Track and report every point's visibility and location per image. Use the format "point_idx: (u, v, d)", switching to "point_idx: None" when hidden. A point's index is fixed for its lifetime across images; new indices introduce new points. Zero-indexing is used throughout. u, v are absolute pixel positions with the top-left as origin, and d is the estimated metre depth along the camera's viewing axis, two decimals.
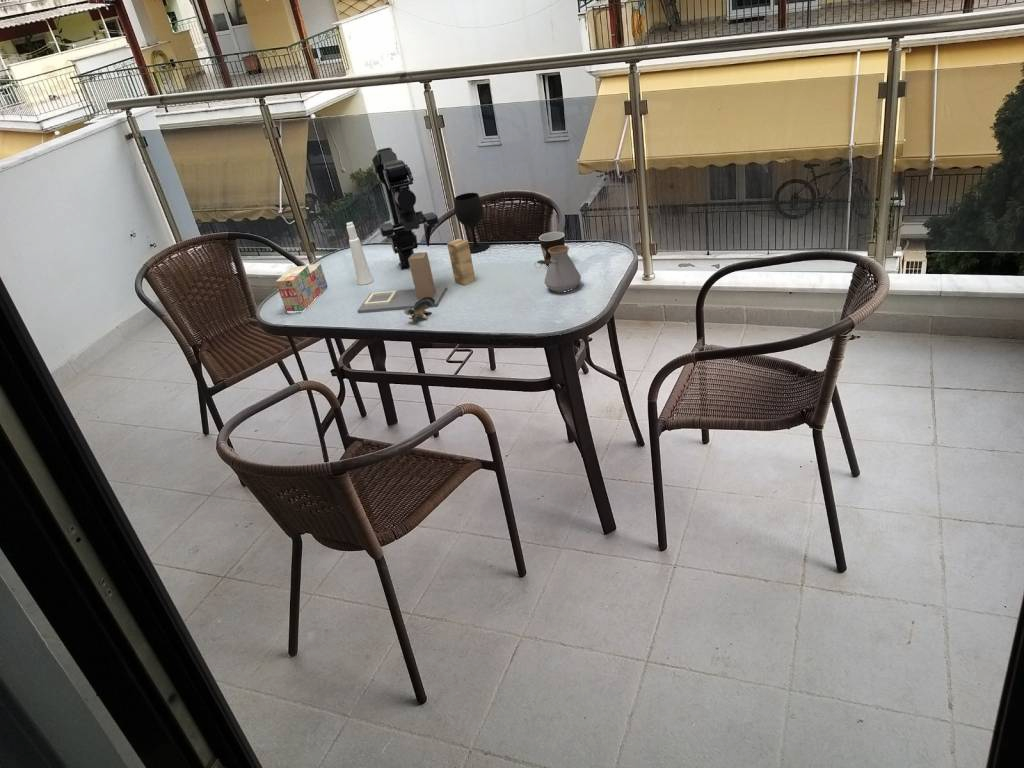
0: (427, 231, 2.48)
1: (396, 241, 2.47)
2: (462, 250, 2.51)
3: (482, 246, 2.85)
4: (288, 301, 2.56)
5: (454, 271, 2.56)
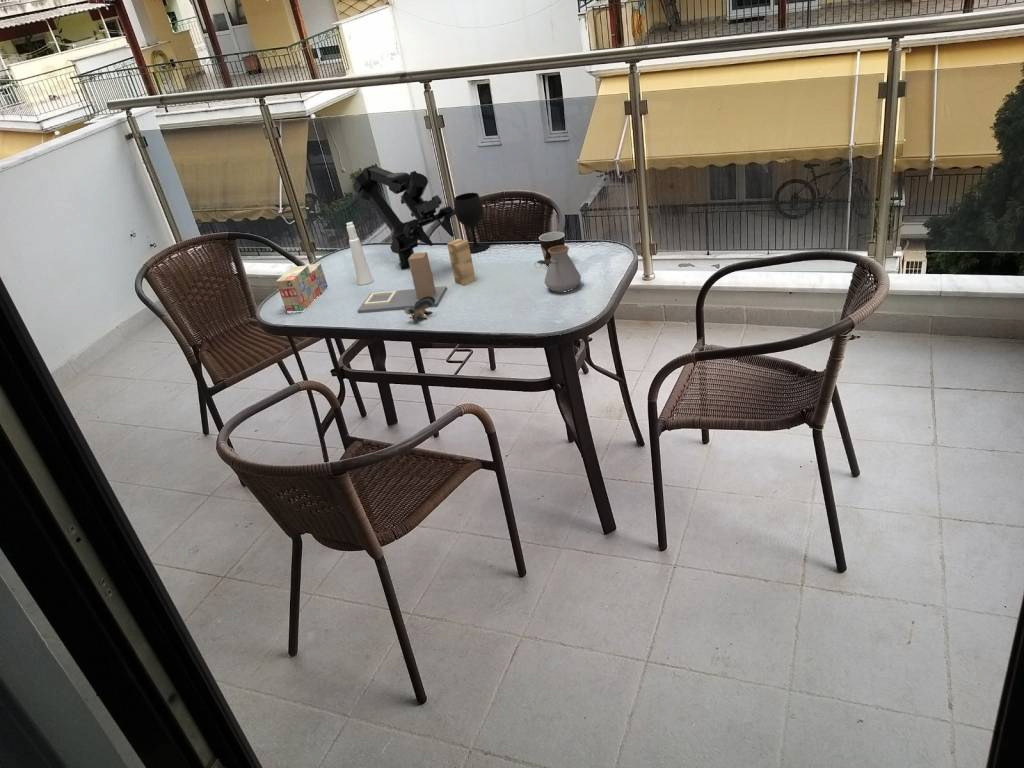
0: (447, 221, 2.60)
1: (424, 233, 2.54)
2: (462, 250, 2.51)
3: (482, 246, 2.85)
4: (288, 300, 2.56)
5: (454, 271, 2.56)
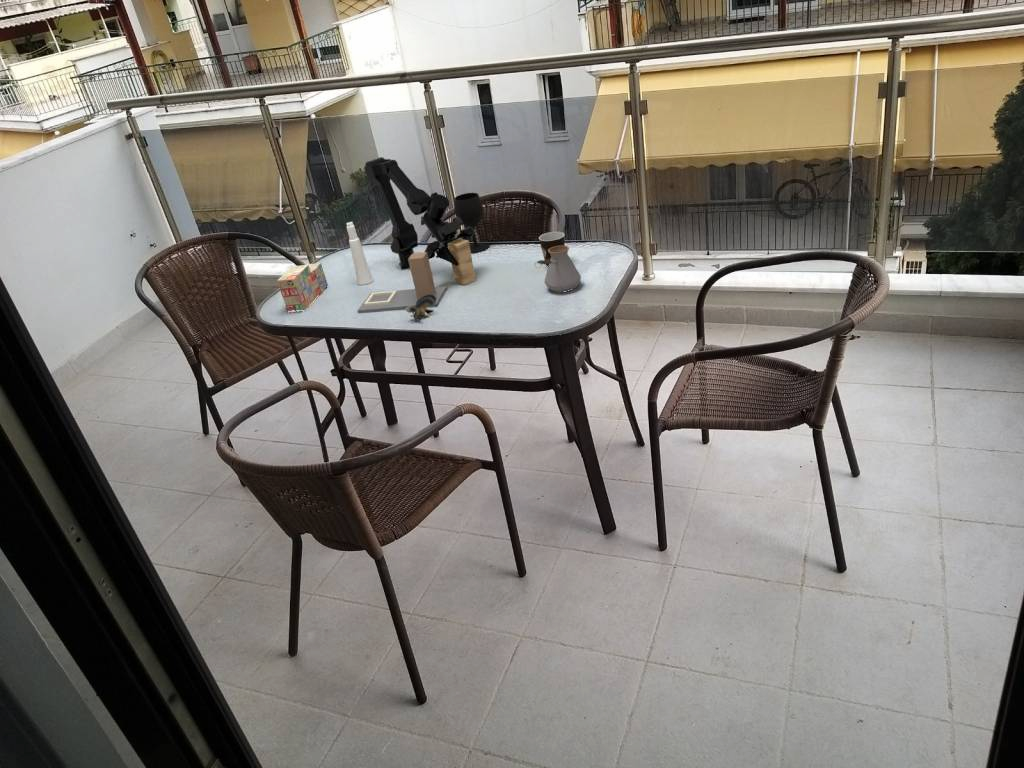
0: None
1: (449, 253, 2.52)
2: (463, 250, 2.51)
3: (482, 246, 2.85)
4: (289, 300, 2.57)
5: (454, 271, 2.56)
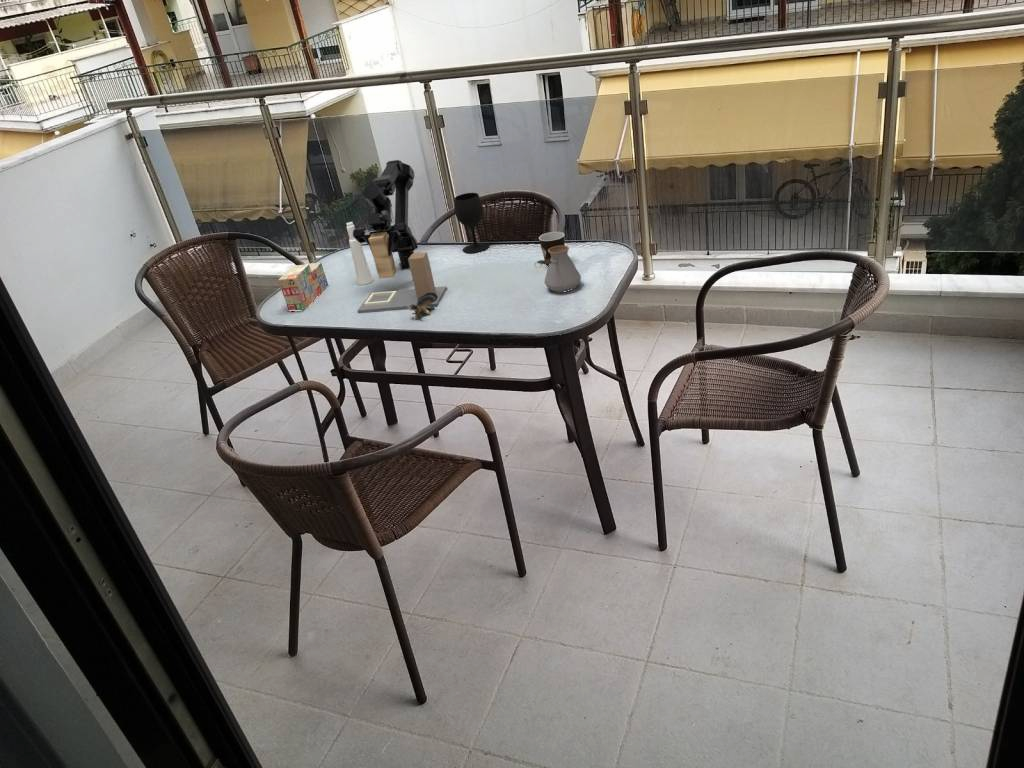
0: (389, 239, 2.53)
1: None
2: (376, 245, 2.50)
3: (482, 246, 2.85)
4: (290, 299, 2.57)
5: None
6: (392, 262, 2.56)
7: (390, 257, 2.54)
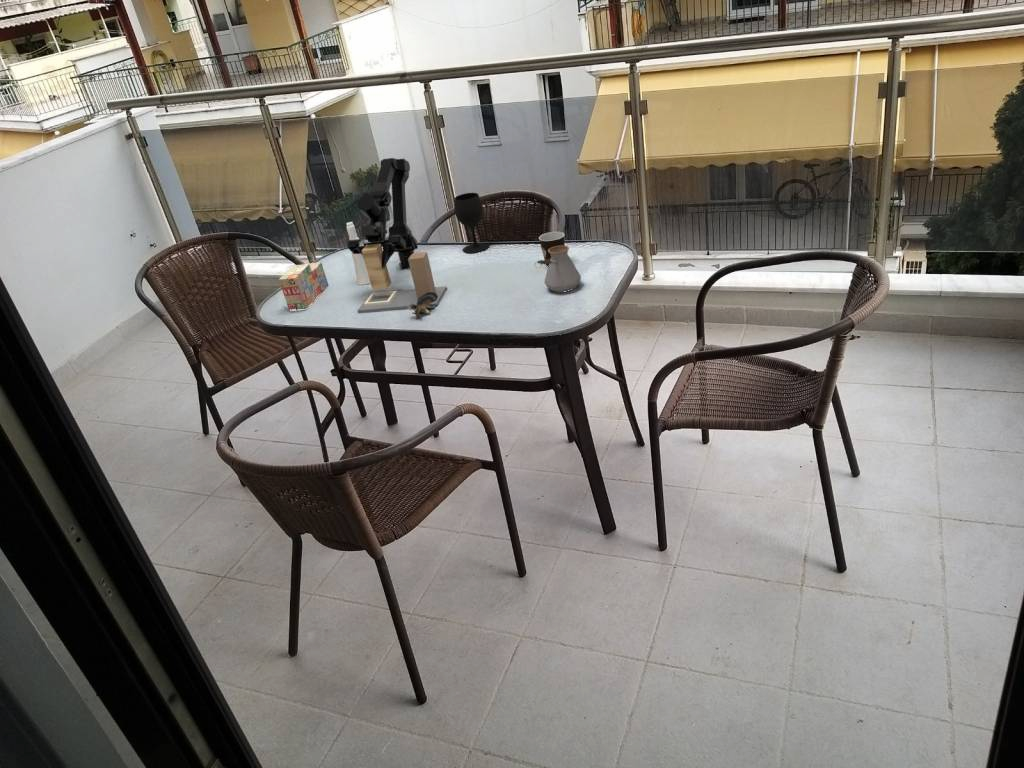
0: (383, 250, 2.49)
1: None
2: (369, 257, 2.47)
3: (482, 246, 2.85)
4: (291, 299, 2.58)
5: None
6: (386, 274, 2.52)
7: (384, 269, 2.51)
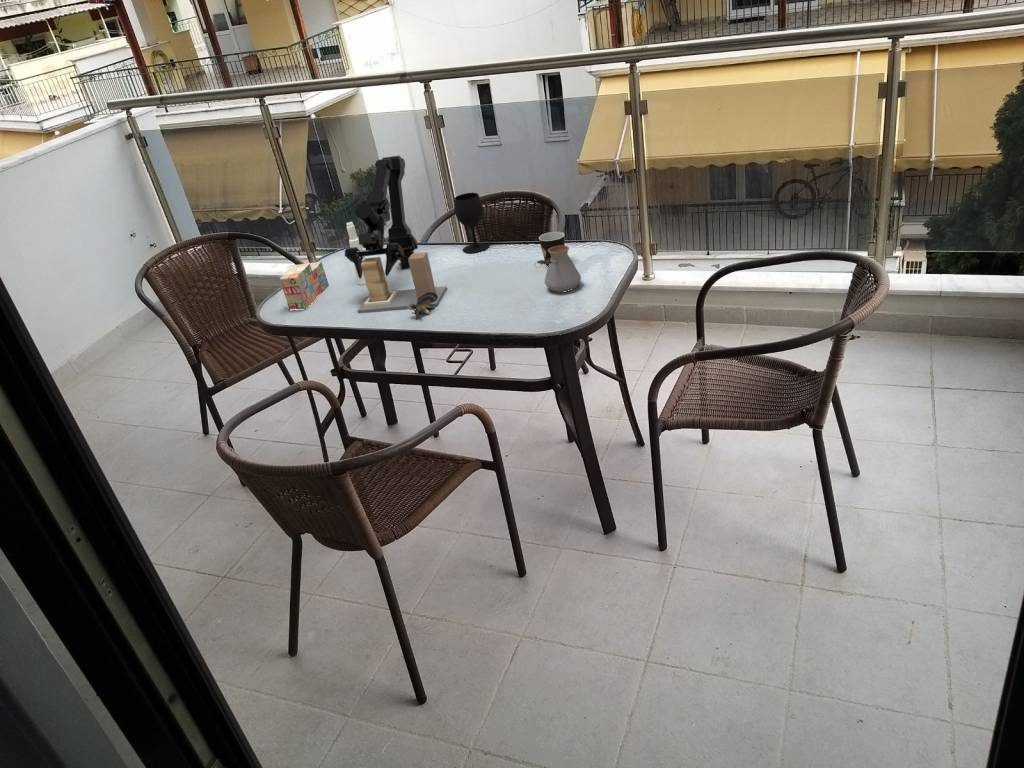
0: (387, 258, 2.47)
1: (356, 263, 2.49)
2: (368, 270, 2.46)
3: (482, 246, 2.85)
4: (292, 298, 2.58)
5: None
6: (385, 287, 2.51)
7: (383, 282, 2.50)
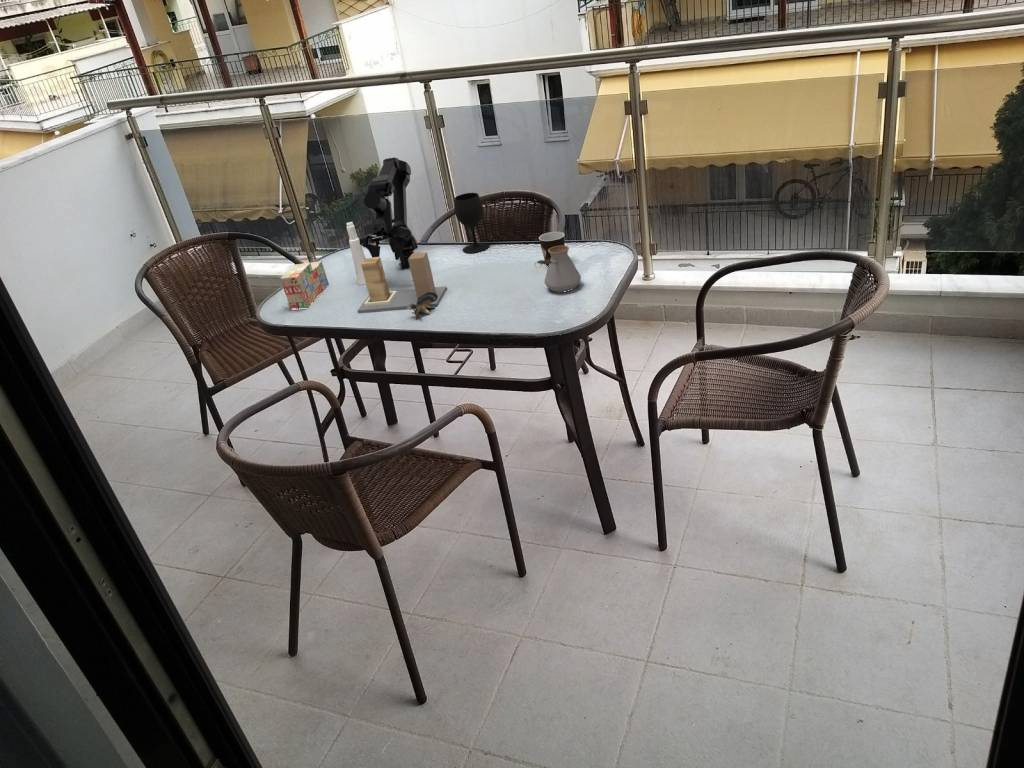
0: (394, 243, 2.52)
1: (371, 251, 2.58)
2: (368, 270, 2.46)
3: (482, 246, 2.85)
4: (292, 298, 2.58)
5: None
6: (385, 287, 2.51)
7: (383, 282, 2.50)
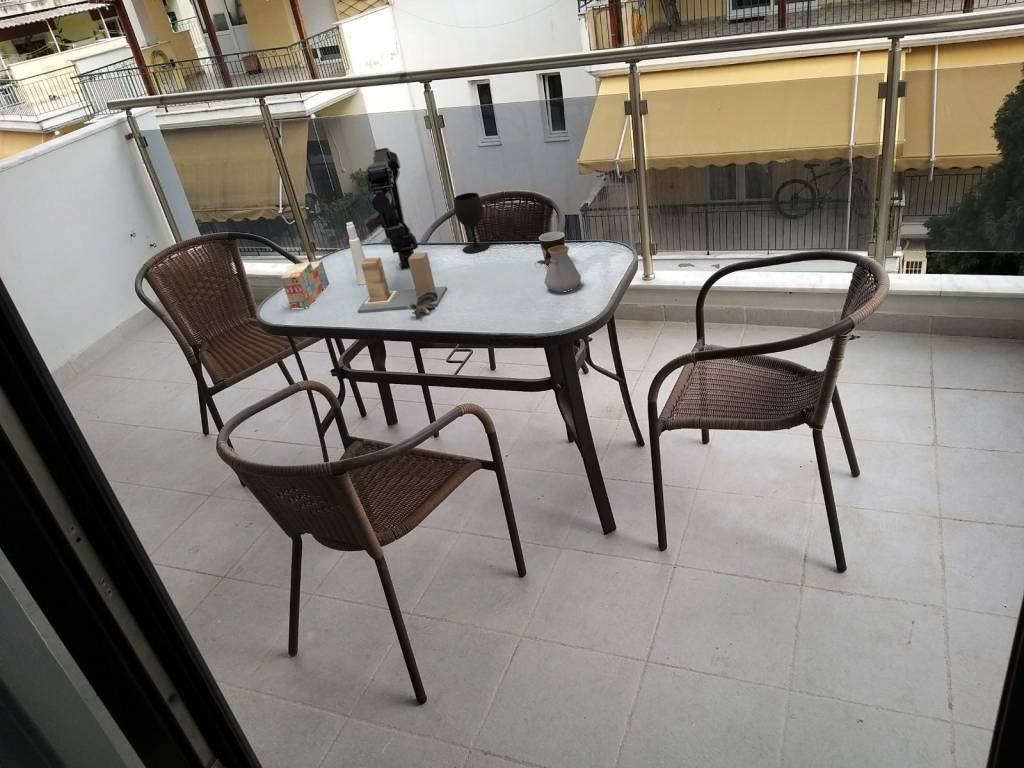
0: None
1: None
2: (368, 270, 2.46)
3: (482, 246, 2.85)
4: (293, 297, 2.59)
5: None
6: (385, 287, 2.51)
7: (383, 282, 2.50)
